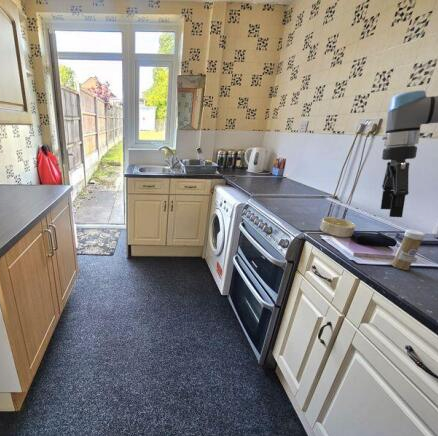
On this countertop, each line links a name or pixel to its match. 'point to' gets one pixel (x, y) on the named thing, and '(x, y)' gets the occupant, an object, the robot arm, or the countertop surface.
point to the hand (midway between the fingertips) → (390, 212)
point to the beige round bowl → (337, 227)
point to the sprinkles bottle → (408, 249)
